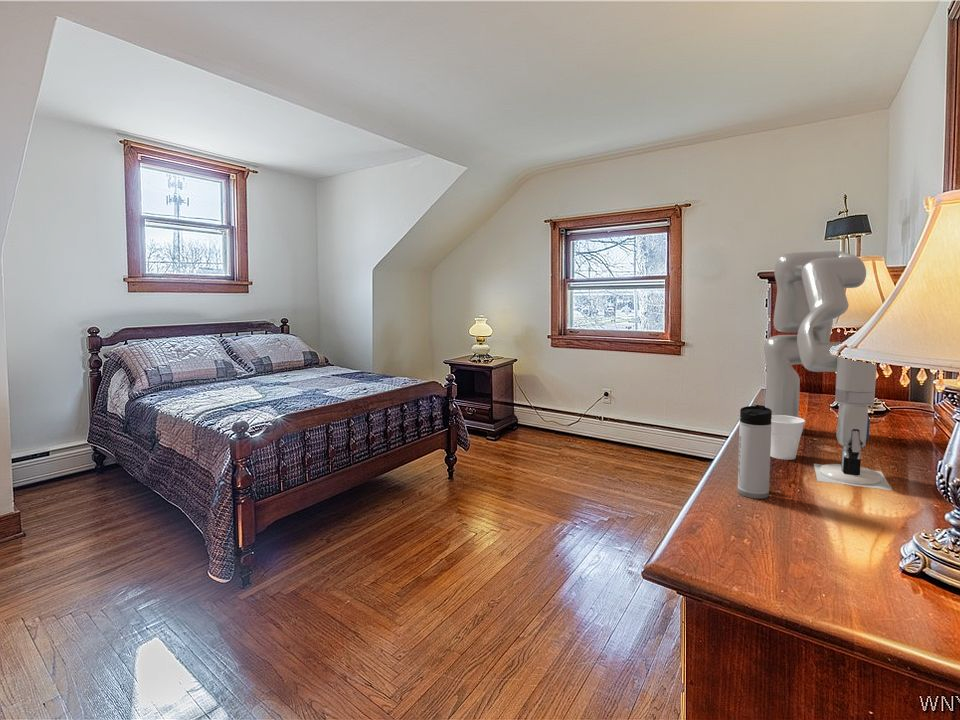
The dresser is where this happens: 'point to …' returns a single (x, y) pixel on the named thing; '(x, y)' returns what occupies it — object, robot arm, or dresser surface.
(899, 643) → the dresser surface
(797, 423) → the cup
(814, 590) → the dresser surface
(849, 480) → the lid
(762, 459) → the travel mug
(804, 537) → the dresser surface
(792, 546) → the dresser surface
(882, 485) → the mat
